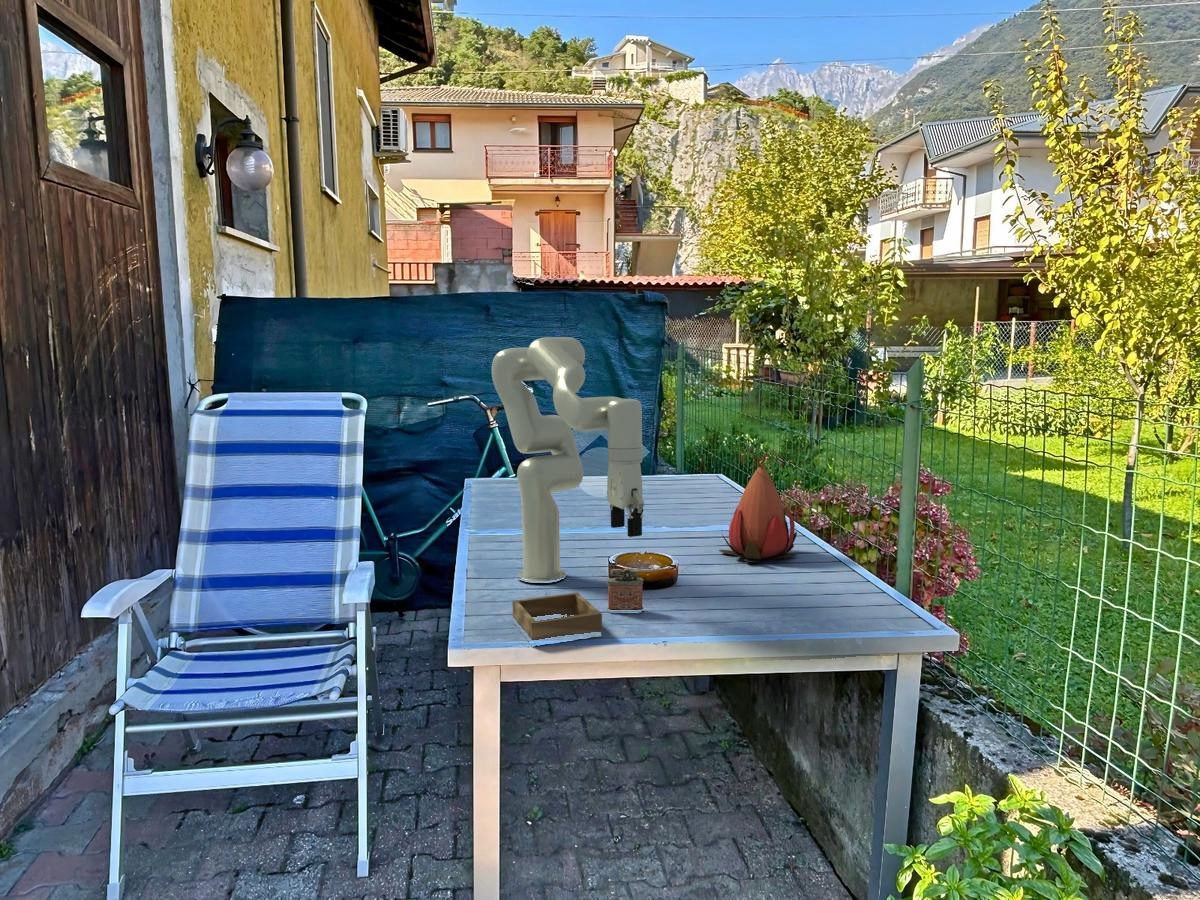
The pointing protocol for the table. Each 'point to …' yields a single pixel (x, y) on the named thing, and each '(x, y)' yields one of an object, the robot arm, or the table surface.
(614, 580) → the lighter
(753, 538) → the decorative flower
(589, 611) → the walled box
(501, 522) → the table surface
